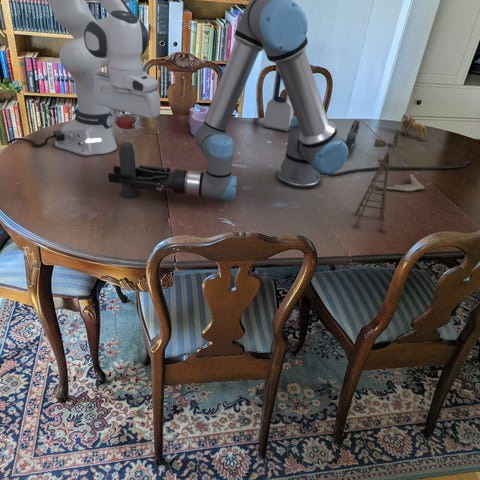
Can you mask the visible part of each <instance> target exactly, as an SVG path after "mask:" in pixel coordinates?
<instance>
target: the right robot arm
mask: <svg viewBox="0 0 480 480" xmlns="http://www.w3.org/2000/svg"><path fill="white" fill-rule="evenodd" d="M308 27H309V25H308V18H307V15H306V13H305V11H304V9H302V7H301V6H300V5H299V4H297V3H296V2H295V1H293V0H250V1H249V3H247V5H246V7H245V8H244V10H243V12H242V14H241V17H240V18H239V21H238V24H237V27H236V29H235V31H234V34H233V37H234V39H235V40H234V44H233V46H232V49H231V51H230V54H229V57H228V59H227V62H226V64H225V67H224V69H223V71H222V74H221V76H220V78H219V79H220V80H219V81H218V84H217V87H216V89H215V92H214V95H213V97H212V99H211V102H210V105H209V107H208V112H207V115H206V117H205V120H204V122H203V124H201V125H200V126H198V128H197V129H196V131H195V136H194V140H195V143H196V145H197V147H199V149H200V150H201V152H202V154H203V155H204V156H205V158H206V172H205V171H198V170H197V171H196V170H188V171H187V170H186V169H179V168H176V169H174V171H173V172H172V171H171V167H158V166H149V165H139V166H137V167H135V168H136V177H131V175H123V174H121V170H120V165H118V166H117V165H114V166H113V172H109V173H108V174H107V175H108V183H114V184H121V185H122V184H129V185H130V188H131V189H137V191H138V190H139V191H146V192H154V193H157V194H163V191H164V190H171V191H172V193H173V194H175V195H182V196H183V195H185V194H186V195H187V196H193V197H203V198H208V199H209V198H210V199H219V200H234V199H235V198H236V194H237V184H238V176H236V175H233V174H232V166H233V159H234V152H235V149H234V139H233V137H231V136H230V135H227V134H225V133H226V131H227V129H228V126H229V124H230V121H231V119H232V117H233V114H234V112H235V109H236V107H237V105H238V103H239V101H240V98H241V96H242V94H243V91H244V89H245V86H246V84H247V82H248V79H249V77H250V74H251V73H252V70H253V68H254V65H255V63H256V61H257V58H258V55H259V53H261V52H262V51H264V53H265V55H266V58H267V60H268V61H269V62H271V63H274V64H275V66H276V67H277V69H278V71H279V74H280V76H281V82H282V84H283V86H284V87H283V88H284V90H285V93H286V92H287V95H288V97H289V100H290V102H291V105H292V108H293V110H294V112H293V114H294V115H293V118H292V119H291V123H290V126H289V127H290V129H289V130H288V137H287V141H286V142H287V143H286V149H285V150H286V151H285V156H284V158H283V161H282V162H281V165H280V166H279V168H278V170H277V175H276V176H277V180H278V182H280V183H281V184H283V185H285V186H288V187H291V188H295V189H312V188H315V187H318V185H320V180H321V176H330V177H338V176H342V175H346V174H350V173H356V172H365V171H378V167H379V166H376V167H375V166H374V167H364V168H356V169H355V168H354V169H349V170H344V171H341V172H338V171H339V170H340V169H341V168H342V167H344V165H345V164H346V161H347V160H348V159H349V158H348V148H347V146H346V142H344V141H343V140H341V138H340V135H339V132H338V129H337V126H336V124H335V122H333V121H332V120H329V119H328V115H327V112H326V109H325V106H324V104H323V101H322V97H321V95H320V92H319V89H318V86H317V85H318V84H317V81H316V80H315V76H314V74H313V70H312V68H311V67H312V66H311V64H310V61H309V59H308V56H307V53H306V48H307V46H308V45H309V40H308V37H307V33H308ZM347 158H348V159H347ZM469 162H470V161H469V160H468V161H465V162H464V163H463V164H467V163H468V164H467V165H469V166H472V162H471V163H469ZM463 164H462V165H463ZM454 166H456V167H454ZM464 167H466V165H463V166H458V165H446V166H443V165H442V166H396V167H393V166H392V167H390V166H388V170H446V169H460V168H464ZM383 169H386V166H385V167H383Z"/></svg>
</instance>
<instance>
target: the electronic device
mask: <svg viewBox="0 0 480 480" xmlns="http://www.w3.org/2000/svg"><path fill="white" fill-rule="evenodd" d="M275 68H276V70H275V75H274V76H275V77H274V84H273V91H272V97H271V99H270V100H268V101H267V104H266V109H265V112H264V116H263V119H262V120H263V121H262V125H263V126H264V128H268V129H272V130H278V131H283V132H289V129H290V127H289V126H290V123H291V119H292V118H293V117H294V110H293V108H292V105H291V102H290V100H289V97H288V95H287V92H286V91H285V95H284V97H281V96H280V89H281V82H282V79H281V76H280V74H279V71H278V69H277V66H276V67H275Z"/></svg>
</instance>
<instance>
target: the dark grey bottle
mask: <svg viewBox="0 0 480 480" xmlns="http://www.w3.org/2000/svg"><path fill="white" fill-rule="evenodd" d="M118 157H119V167H120V170H121V174H123V175H131V177H136V168H137V167H136V154H135V149H134V145H133V143H132V142H122V143H120V144H119V150H118ZM121 192H122V196H124V197H126V198H133V197H136V196H137V195H138V190H137V189H131V188H130V185H129V184H121Z"/></svg>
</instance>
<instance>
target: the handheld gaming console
mask: <svg viewBox="0 0 480 480" xmlns="http://www.w3.org/2000/svg"><path fill="white" fill-rule="evenodd" d="M360 123H361V122H360V120H358V119H354V120H353V122H352V124H351V127H350V129H349V131H348V133H347V135H346V136H347V137H346V141H345V144H346V146H347V148H348V158H347V160H348V159H349V158H350V156H351V153H352V151H353V148H354V145H355V144H356V141H357V136H358V133H359V129H360Z"/></svg>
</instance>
